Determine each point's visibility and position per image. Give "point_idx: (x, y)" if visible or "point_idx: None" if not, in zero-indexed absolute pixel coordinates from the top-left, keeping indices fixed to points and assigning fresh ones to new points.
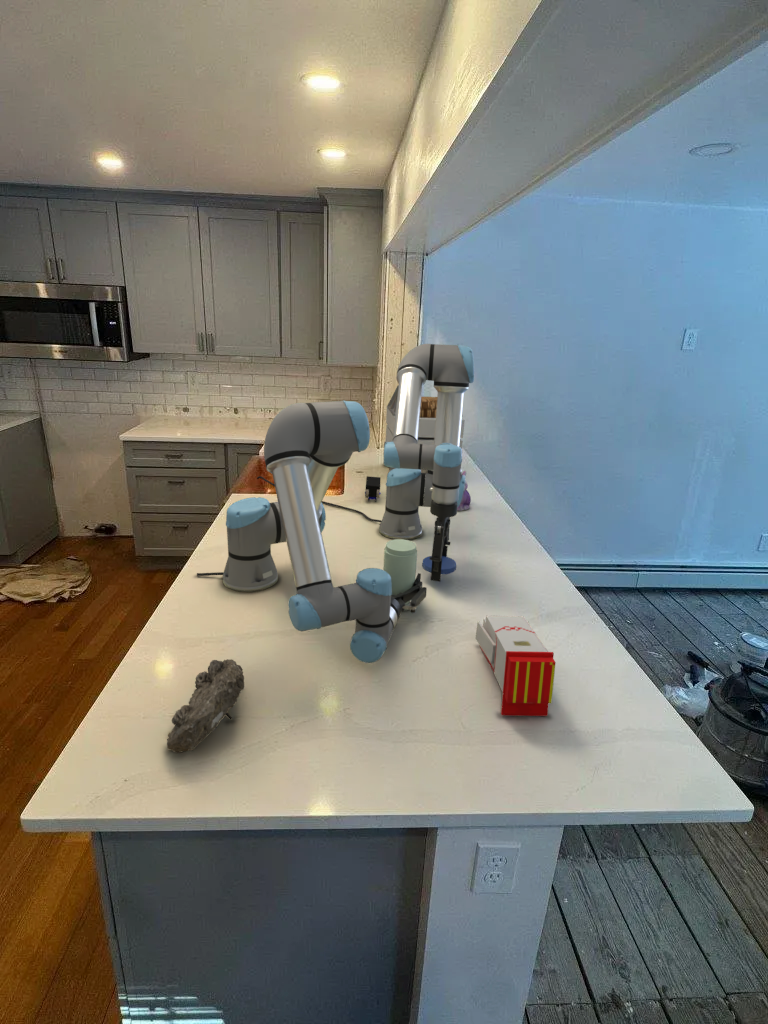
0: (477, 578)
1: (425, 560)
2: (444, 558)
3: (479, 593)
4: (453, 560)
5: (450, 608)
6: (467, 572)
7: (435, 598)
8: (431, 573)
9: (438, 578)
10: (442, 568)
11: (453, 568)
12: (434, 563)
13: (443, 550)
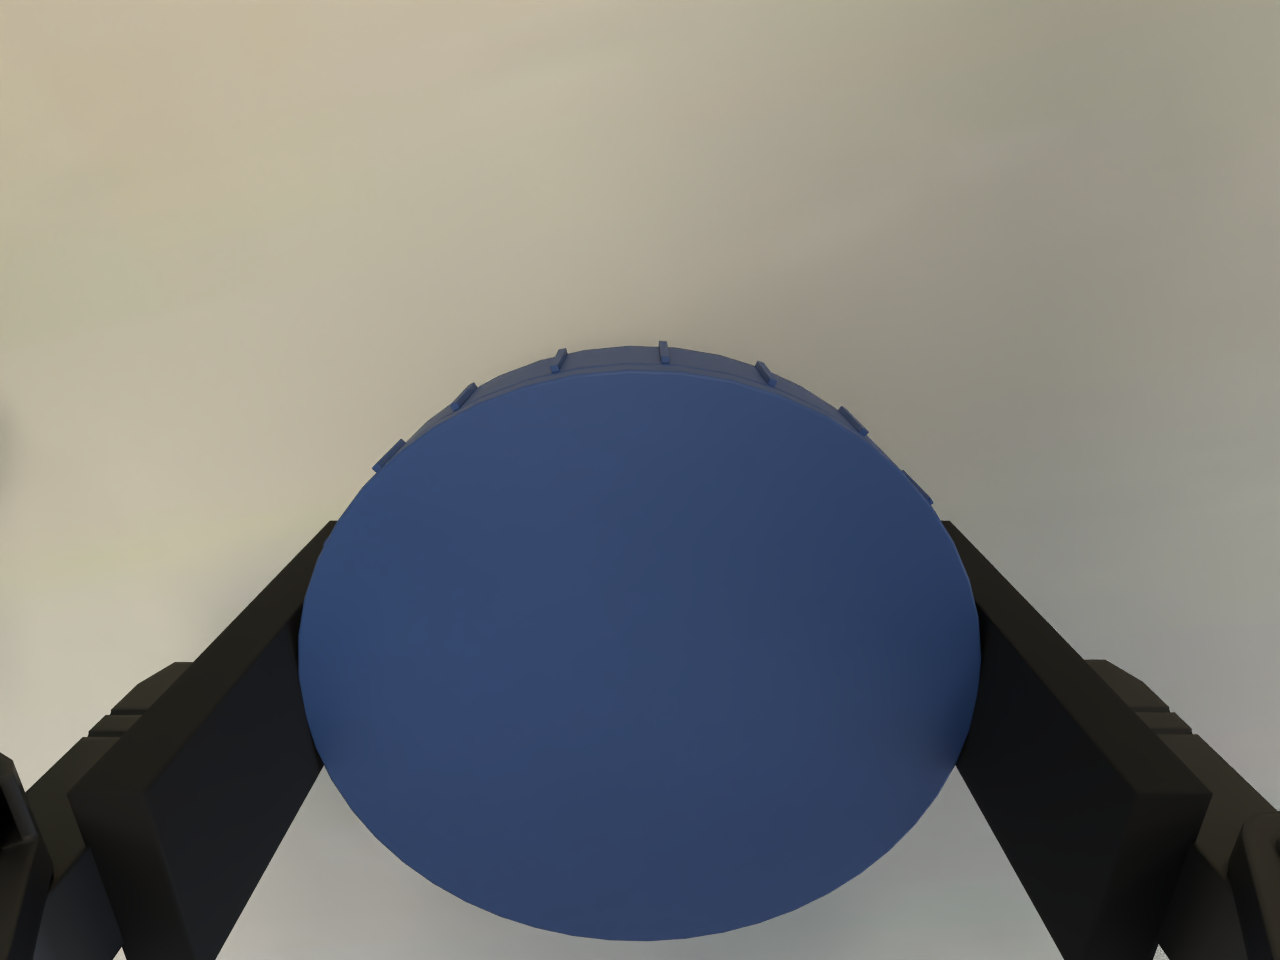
0: (829, 900)
1: (625, 433)
2: (854, 758)
3: (489, 935)
4: (803, 893)
5: (24, 742)
6: (963, 807)
7: (144, 575)
8: (276, 582)
9: None
10: (379, 784)
11: (518, 902)
12: (34, 806)
13: (1036, 818)
